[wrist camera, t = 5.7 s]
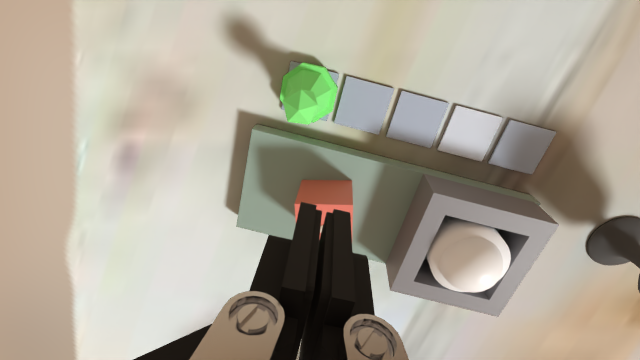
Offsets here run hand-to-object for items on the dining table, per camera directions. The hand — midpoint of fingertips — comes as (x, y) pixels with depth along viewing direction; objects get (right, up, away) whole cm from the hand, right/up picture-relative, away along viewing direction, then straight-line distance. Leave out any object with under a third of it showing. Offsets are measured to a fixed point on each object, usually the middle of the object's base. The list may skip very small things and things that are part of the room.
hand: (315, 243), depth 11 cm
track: (+8, +7, +14) cm, 17 cm away
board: (+5, 0, +17) cm, 18 cm away
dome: (+11, -3, +16) cm, 19 cm away
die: (+1, 0, +16) cm, 16 cm away
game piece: (-1, +9, +14) cm, 16 cm away
